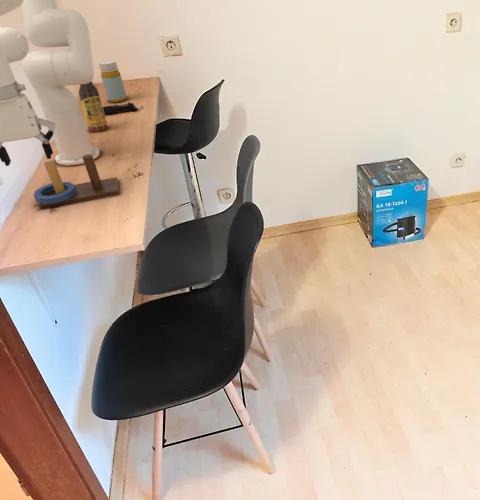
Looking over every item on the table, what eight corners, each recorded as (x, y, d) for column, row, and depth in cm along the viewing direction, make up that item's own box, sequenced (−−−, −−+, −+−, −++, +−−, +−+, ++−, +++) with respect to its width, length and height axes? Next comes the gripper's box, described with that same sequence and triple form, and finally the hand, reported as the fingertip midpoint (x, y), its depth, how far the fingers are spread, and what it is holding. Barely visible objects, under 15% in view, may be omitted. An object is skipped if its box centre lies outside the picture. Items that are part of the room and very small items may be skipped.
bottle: (114, 97, 208) (103, 59, 200) (130, 97, 207) (120, 59, 199) (105, 103, 203) (93, 64, 194) (121, 103, 202) (110, 64, 193)
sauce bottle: (92, 134, 174) (73, 74, 163) (86, 129, 178) (67, 71, 167) (111, 129, 178) (94, 70, 167) (105, 124, 182) (88, 67, 171)
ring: (37, 191, 137) (35, 185, 136) (76, 184, 140) (74, 179, 139) (34, 207, 129) (32, 201, 128) (75, 199, 132) (73, 193, 131)
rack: (43, 194, 138) (29, 159, 132) (118, 180, 143) (107, 146, 138) (40, 209, 131) (25, 173, 125) (119, 194, 137) (107, 159, 131)
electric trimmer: (93, 115, 192) (90, 106, 190) (136, 108, 196) (134, 100, 194) (93, 118, 189) (90, 109, 187) (137, 111, 193) (134, 103, 191)
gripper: (43, 82, 124) (67, 149, 134) (-39, 92, 119) (-8, 160, 129) (40, 91, 118) (66, 159, 128) (-46, 102, 113) (-13, 172, 123)
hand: (29, 160), depth 128 cm, fingers open, 8 cm apart
